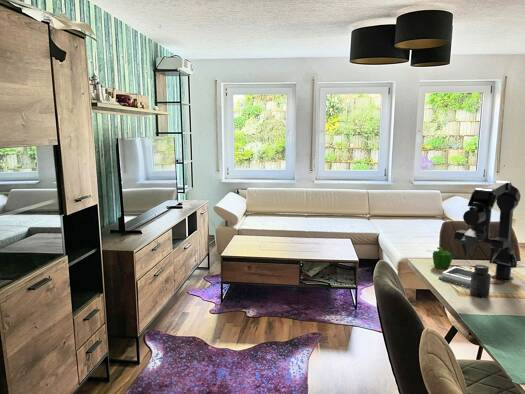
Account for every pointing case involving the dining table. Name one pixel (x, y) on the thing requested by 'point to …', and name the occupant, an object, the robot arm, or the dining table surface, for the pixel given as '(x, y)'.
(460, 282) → the gray square tray
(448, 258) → the bell pepper
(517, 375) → the dining table surface
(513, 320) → the dining table surface
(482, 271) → the supplement bottle
